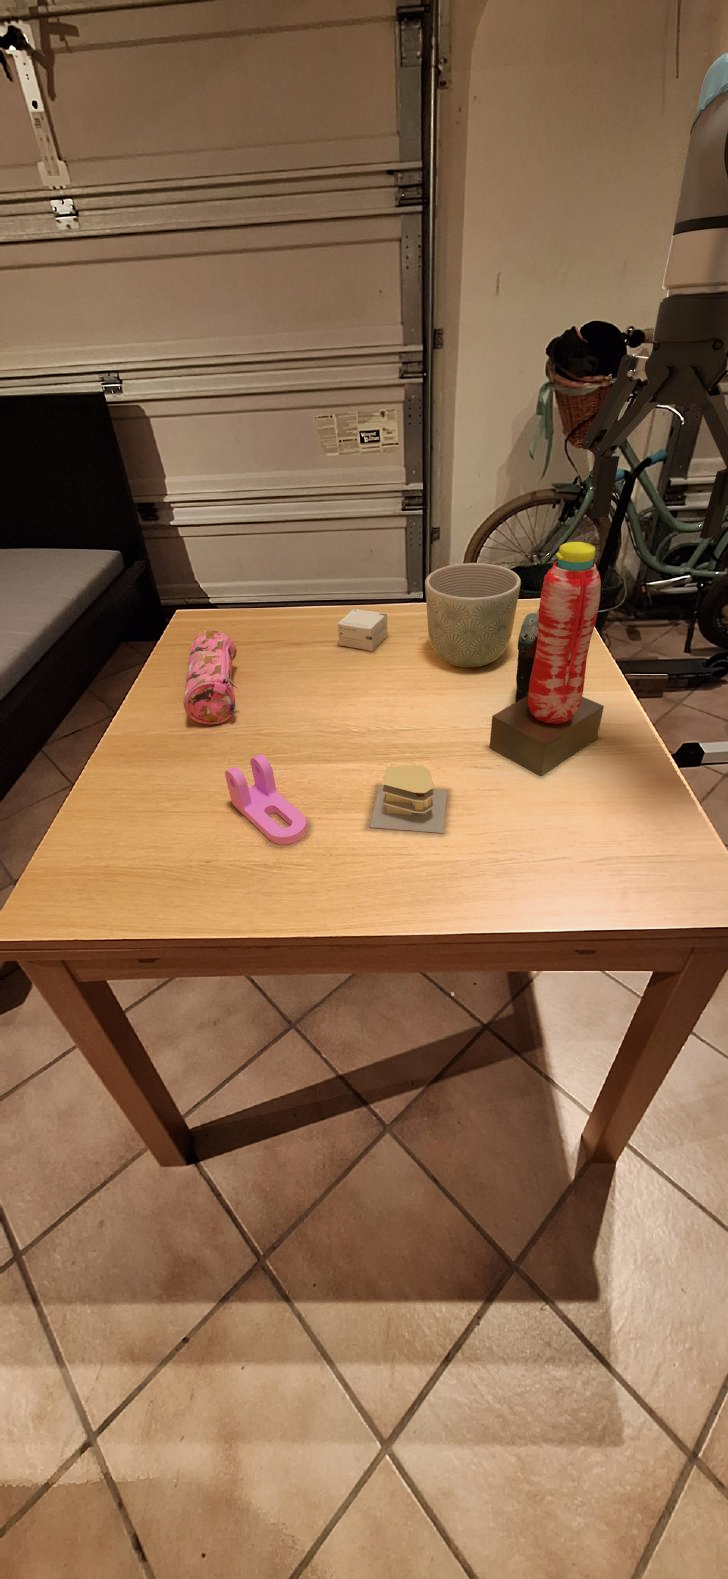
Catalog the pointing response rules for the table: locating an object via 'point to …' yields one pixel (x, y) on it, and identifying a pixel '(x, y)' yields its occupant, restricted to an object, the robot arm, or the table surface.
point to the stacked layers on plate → (409, 801)
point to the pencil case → (210, 678)
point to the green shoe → (525, 662)
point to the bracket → (265, 802)
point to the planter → (471, 612)
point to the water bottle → (564, 634)
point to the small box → (362, 629)
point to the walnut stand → (543, 735)
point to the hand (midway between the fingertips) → (650, 526)
